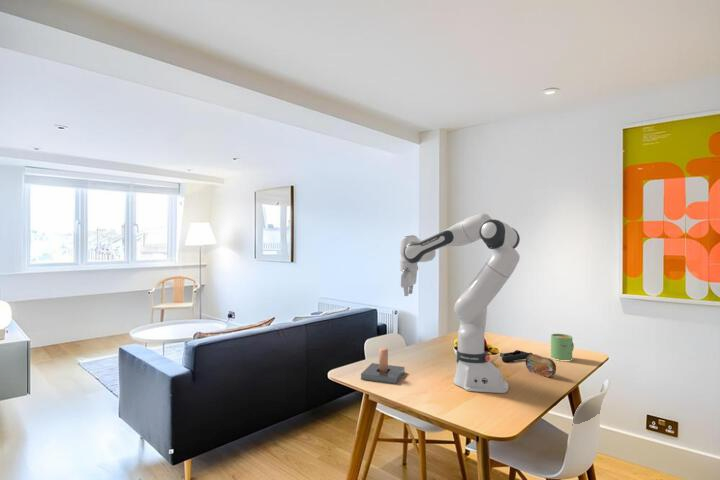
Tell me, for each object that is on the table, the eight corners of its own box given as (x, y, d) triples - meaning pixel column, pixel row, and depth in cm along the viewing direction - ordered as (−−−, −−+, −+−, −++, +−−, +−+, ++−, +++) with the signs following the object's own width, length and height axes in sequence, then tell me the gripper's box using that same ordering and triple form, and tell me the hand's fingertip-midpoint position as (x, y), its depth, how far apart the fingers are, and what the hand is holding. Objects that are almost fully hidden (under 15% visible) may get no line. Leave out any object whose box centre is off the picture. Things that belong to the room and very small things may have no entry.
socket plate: (404, 372, 185) (404, 367, 185) (396, 384, 169) (396, 378, 169) (371, 368, 190) (372, 363, 190) (361, 379, 175) (361, 373, 175)
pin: (388, 374, 181) (389, 348, 181) (386, 377, 177) (386, 351, 177) (380, 373, 182) (380, 347, 182) (377, 376, 178) (378, 350, 178)
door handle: (485, 351, 214) (507, 357, 200) (513, 347, 222) (536, 353, 208) (485, 357, 214) (507, 364, 199) (513, 353, 222) (536, 359, 208)
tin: (524, 369, 190) (525, 352, 190) (529, 368, 192) (529, 351, 192) (552, 379, 177) (552, 360, 177) (557, 378, 179) (557, 360, 179)
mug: (560, 362, 203) (560, 338, 203) (546, 356, 213) (546, 334, 213) (581, 360, 206) (581, 337, 206) (566, 355, 216) (566, 333, 216)
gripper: (410, 269, 189) (410, 297, 189) (418, 266, 209) (418, 292, 209) (397, 268, 192) (397, 297, 192) (407, 266, 211) (406, 292, 211)
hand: (408, 294), depth 200 cm, fingers open, 8 cm apart
